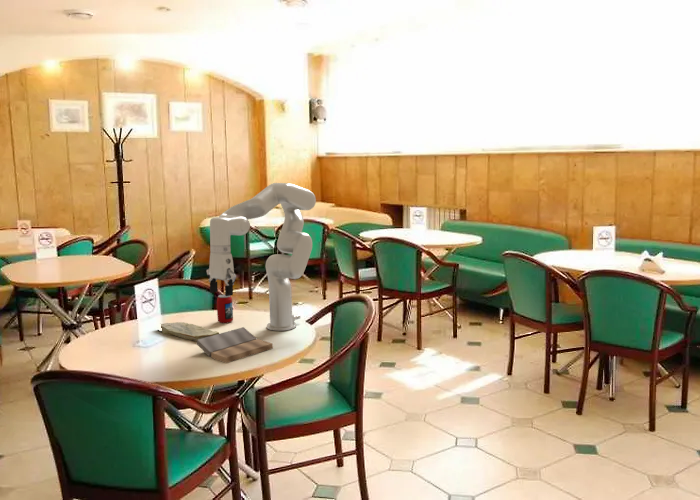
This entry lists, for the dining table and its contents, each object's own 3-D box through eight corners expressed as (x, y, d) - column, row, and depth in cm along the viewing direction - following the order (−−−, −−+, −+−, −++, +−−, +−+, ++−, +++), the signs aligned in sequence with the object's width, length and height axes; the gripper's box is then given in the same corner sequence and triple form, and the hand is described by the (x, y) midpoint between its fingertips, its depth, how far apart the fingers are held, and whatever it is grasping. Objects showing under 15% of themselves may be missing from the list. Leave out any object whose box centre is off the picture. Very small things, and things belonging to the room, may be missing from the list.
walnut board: (257, 343, 255) (257, 338, 254) (272, 348, 249) (272, 343, 248) (211, 357, 239) (211, 352, 238) (226, 362, 233) (226, 357, 232)
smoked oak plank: (242, 331, 260) (243, 327, 259) (255, 342, 256) (256, 338, 255) (196, 344, 244) (197, 339, 243) (209, 356, 239) (210, 352, 239)
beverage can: (231, 323, 284) (230, 297, 282) (216, 324, 284) (214, 297, 283) (234, 319, 291) (233, 293, 289) (219, 320, 291) (218, 294, 289)
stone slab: (175, 318, 284) (220, 327, 265) (176, 328, 285) (221, 337, 266) (151, 324, 274) (196, 333, 256) (152, 334, 275) (197, 344, 256)
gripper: (242, 250, 243) (243, 295, 245) (215, 246, 255) (215, 289, 257) (226, 252, 238) (227, 298, 240) (199, 248, 249) (200, 292, 251)
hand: (221, 293), depth 248 cm, fingers open, 9 cm apart
